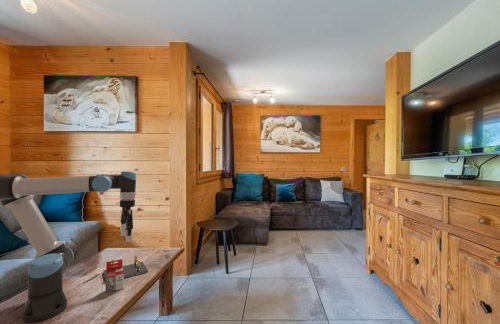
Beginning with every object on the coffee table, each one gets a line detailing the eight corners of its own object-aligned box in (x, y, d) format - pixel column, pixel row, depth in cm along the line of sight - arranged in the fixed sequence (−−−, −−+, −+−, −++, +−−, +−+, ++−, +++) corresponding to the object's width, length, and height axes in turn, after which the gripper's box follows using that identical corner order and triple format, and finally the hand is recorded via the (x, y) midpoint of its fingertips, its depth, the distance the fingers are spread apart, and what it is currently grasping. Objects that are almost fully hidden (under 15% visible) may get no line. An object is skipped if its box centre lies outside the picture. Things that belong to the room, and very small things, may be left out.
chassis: (105, 282, 130) (105, 269, 130) (103, 272, 143) (103, 260, 143) (148, 272, 143) (148, 260, 143) (142, 263, 156) (142, 252, 156)
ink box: (123, 289, 123) (123, 260, 123) (105, 293, 119) (105, 264, 119) (122, 286, 126) (123, 258, 127) (105, 290, 122) (105, 262, 122)
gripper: (140, 201, 122) (138, 243, 121) (130, 196, 142) (128, 232, 141) (124, 202, 117) (122, 245, 117) (115, 197, 137) (114, 234, 136)
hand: (125, 238), depth 129 cm, fingers open, 13 cm apart
